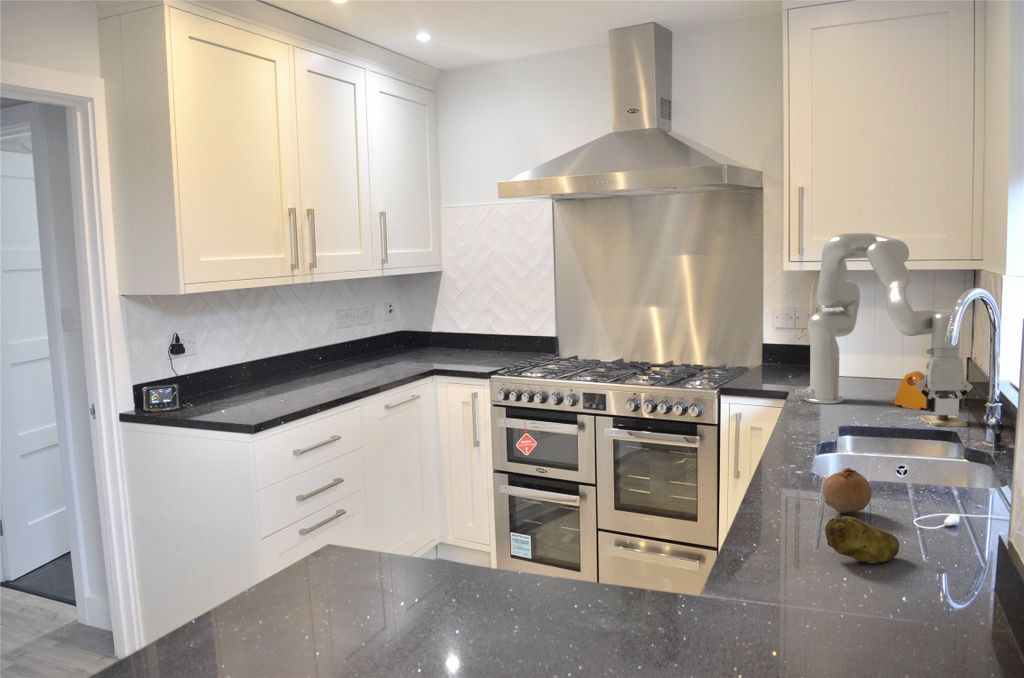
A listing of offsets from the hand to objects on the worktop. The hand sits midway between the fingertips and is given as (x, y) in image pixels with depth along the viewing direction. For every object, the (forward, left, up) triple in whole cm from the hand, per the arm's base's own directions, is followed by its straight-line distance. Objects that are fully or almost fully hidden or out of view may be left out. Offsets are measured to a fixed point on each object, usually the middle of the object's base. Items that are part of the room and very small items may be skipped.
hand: (943, 410), depth 243 cm
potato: (-50, -111, -4) cm, 122 cm away
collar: (0, 0, -1) cm, 1 cm away
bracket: (-1, +23, -4) cm, 23 cm away
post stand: (0, 0, -4) cm, 4 cm away
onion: (-47, -86, -4) cm, 98 cm away
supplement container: (+12, +35, -4) cm, 37 cm away
